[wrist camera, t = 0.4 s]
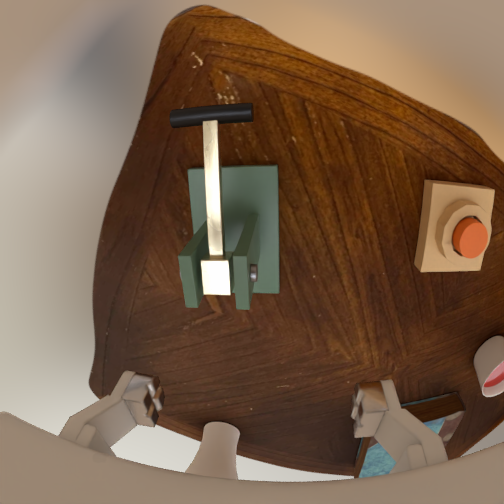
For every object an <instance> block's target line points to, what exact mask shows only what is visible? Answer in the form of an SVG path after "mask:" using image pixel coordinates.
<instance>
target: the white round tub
mask: <svg viewBox="0 0 504 504" xmlns="http://www.w3.org/2000/svg"><path fill="white" fill-rule="evenodd" d="M474 367H475V370H476V373H477V377H478V380H479V383H480V387H481V390H482V393H483V395H484V396H486V397H492V396H495V395H498V394H500V393H502V392H503V391H504V337H503V336H494V337H492V338H490V339H488V340H487V341H486V342H485V343H483V344H482V346H481V347H480V348H479V349H478V351H477V352H476V354H475V357H474Z"/></svg>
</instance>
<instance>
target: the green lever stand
mask: <svg viewBox="0 0 504 504" xmlns="http://www.w3.org/2000/svg"><path fill="white" fill-rule="evenodd" d="M188 181H189V192H190V203H191V213H192V223H193V232H194V236H193V237H192V239H191V240H190V241H189V242H188V244H187V245H186V246H185V248H184V249H183V250H182V252H181V253H180V254H179V255H178V259H179V266H180V278H181V280H182V285H183V291H184V298H185V303H186V307H194V308H197V307H198V306H199V304H200V301H201V299H202V297H203V295H204V294H203V287H202V276H201V265H200V260H201V259H202V258H203V256H204V255H205V254H206V253H207V252H208V251H209V244H208V229H207V212H206V193H205V171H204V167H198V168H190V169H188ZM222 186H223V209H224V230H225V249H226V251H234V254H233V270H234V284H235V286H234V289H233V291H232V293H235V297H236V309H248V310H249V309H250V304H251V299H252V294H253V293H279V195H278V165H237V166H222Z"/></svg>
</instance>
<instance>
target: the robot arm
mask: <svg viewBox="0 0 504 504" xmlns="http://www.w3.org/2000/svg"><path fill="white" fill-rule="evenodd" d="M159 384H160V380H159V377H158V376H154V375H148V374H142V373H137V372H131V371H125V372H124V373H123V374H122V376H121V378H120V380H119V381H118V383H117V385H116V387H115V388H114V390H113V392H112V394H111V396H108V395H107V396H106V397H104V398H102V399H101V400H99V401H97V402H95V403H94V404H92V405H90V406H89V407H87V408H85V409H83V410H81V411H80V412H78V413H76V414H74V415H73V416H71V417H69V419H68V421H67V422H66V424H65V426H64V427H63V429H62V431H61V432H60V434H59V436H56V435H54V434H52V433H49V432H47V431H45V430H43V429H40V428H38V427H36V426H34V425H32V424H29V423H27V422H26V421H24V420H21V419H19V418H17V417H16V416H14V415H12V414H10V413H8V412H0V504H504V442H502V443H499V444H497V445H494V446H491V447H489V448H486V449H483V450H480V451H478V452H475V453H472V454H469V455H466V456H462V457H459V458H456V459H452V460H449V461H448V458H447V455H446V451H445V448H444V445H443V442H442V439H441V437H440V436H438V435H437V434H436V433H435V432H433V431H432V430H431V429H430V428H428V427H427V426H426V425H425V424H423V423H422V422H421V421H420V420H418V419H417V418H416V417H415V416H413V415H412V414H411V413H410V412H408V411H407V410H406V409H401V406H400V403H399V399H398V396H397V393H396V390H395V387H394V383H393V381H392V380H384V381H372V382H361V383H356V385H355V388H354V391H355V394H354V395H353V396H352V399H351V417H352V418H353V419H354V423H353V431H354V437H355V438H359V437H372V436H374V438H375V439H376V440H377V441H378V442H379V443H380V445H381V446H382V447H383V448H384V449H385V450H386V451H387V452H388V454H389V455H390V456H391V457H392V458H393V459H394V460H395V461H396V462H397V463H396V464H395V466H394V467H393V468H392V470H391V471H390V473H389V474H385V475H379V476H372V477H364V478H355V479H346V480H332V481H313V482H269V481H250V480H237V479H226V478H217V477H209V476H202V475H195V474H189V473H183V472H178V471H172V470H167V469H163V468H158V467H153V466H148V465H145V464H141V463H137V462H133V461H129V460H126V459H122V458H119V457H116V455H115V454H114V452H113V451H112V450H111V448H110V447H111V446H112V445H114V444H115V443H116V442H117V441H119V440H120V439H121V438H122V437H123V436H125V435H126V434H127V433H128V432H130V431H131V430H132V429H133V428H134V427H135V426H137V424H138V425H143V426H149V427H155V425H156V422H157V420H158V417H159V415H158V413H157V411H159V410H160V409H162V407H163V404H164V398H165V396H164V391H163V388H161V387H160V386H159Z"/></svg>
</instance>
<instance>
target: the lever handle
mask: <svg viewBox="0 0 504 504" xmlns="http://www.w3.org/2000/svg"><path fill="white" fill-rule="evenodd" d="M253 120H254V111H253V104H252V103H238V104H224V105H212V106H201V107H192V108H184V109H176V110H172V111H171V112H170V124H171V126H172V128H180V127H189V126H200V125H203V145H204V171H205V193H206V212H207V229H208V244H209V251H208V252H207V253H206V254H205V255H204V256H203V258H202V259H201V260H200V265H201V276H202V287H203V294H204V295H231V294H232V291H233V289H234V286H235V284H234V270H233V254H234V251H226V249H225V230H224V209H223V186H222V160H221V129H220V124H225V123H241V122H253Z"/></svg>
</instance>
